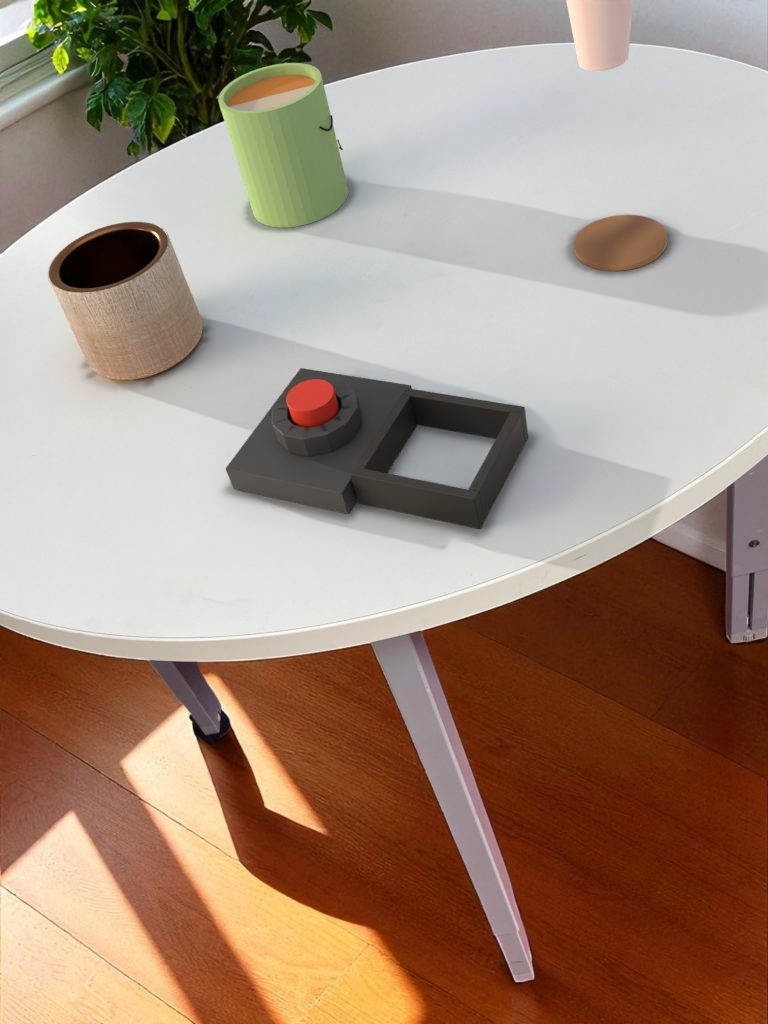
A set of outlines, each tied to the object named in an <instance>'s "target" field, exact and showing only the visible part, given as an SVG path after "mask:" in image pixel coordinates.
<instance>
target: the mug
mask: <svg viewBox="0 0 768 1024" xmlns="http://www.w3.org/2000/svg"><path fill="white" fill-rule="evenodd" d="M217 102H218V105H219V109H220V112H221V114H222V115H221V116H222V117H223V121H224V124H225V127H226V130H227V134H228V137H229V140H230V144H231V147H232V150H233V153H234V156H235V160H236V162H237V167H238V169H239V173H240V175H241V178H242V183H243V186H244V189H245V192H246V196H247V199H248V202H249V203H250V204H249V205H250V208H251V211H252V215H253V216H254V219H256V221H257V222H259V223H260V224H262V225H264V226H267V227H272V228H295V227H301V226H305V225H310V224H312V223H315V222H317V221H320V220H322V219H324V218H326V217H328V216H330V215H332V214H333V213H334V212H337V210H339V208H340V207H342V205H343V204H345V202H346V201H347V198H348V197H349V186H348V183H347V182H348V181H347V178H346V174H345V170H344V165H343V161H342V157H341V153H340V151H343V148H342V147H343V146H341V143H340V139H337V135H336V131H335V127H334V119H333V115H331V110H330V106H329V101H328V97H327V93H326V89H325V84H324V82H323V76H322V73H321V71H320V69H318V68H317V67H315V66H314V65H311V64H307V63H302V62H285V63H277V64H272V65H266V66H265V67H260V68H257V69H254V70H251V71H249V72H247V73H244V74H242V75H240V76H239V77H237V78H235V79H233V80H232V81H230V82H229V83H228V84H227V85H225V86H224V87H223V89H222V90H221V91H220V93H219V95H218V99H217Z"/></svg>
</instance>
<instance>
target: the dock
mask: <svg viewBox="0 0 768 1024" xmlns="http://www.w3.org/2000/svg"><path fill="white" fill-rule="evenodd" d="M526 414H527V413H526V407H525V406H522V405H515V404H510V403H509V404H508V403H503V402H497V401H490V400H485V399H477V398H473V397H466V396H460V395H453V394H447V393H441V392H436V391H435V392H434V391H427V390H421V389H415V388H412V389H409V388H405V390H404V391H403V393H402V395H401V396H400V397H399V399H398V401H397V402H396V404H395V405H394V407H393V408H392V410H391V411H390V413H389V414H388V416H387V417H386V419H385V421H384V422H383V424H382V425H381V427H380V428H379V430H378V431H377V433H376V434H375V436H374V438H373V439H372V441H371V442H370V444H369V445H368V447H367V448H366V450H365V451H364V453H363V454H362V456H361V458H360V459H359V461H358V462H357V464H356V465H355V467H354V468H353V470H352V471H351V473H350V477H351V480H352V483H353V487H354V490H355V493H356V497H357V503H358V504H359V505H360V504H361V505H366V506H370V507H375V508H380V509H384V510H390V511H394V512H398V513H402V514H408V515H412V516H417V517H422V518H426V519H431V520H436V521H440V522H445V523H449V524H455V525H459V526H464V527H468V528H474V529H477V530H478V529H479V530H481V528H482V527H483V525H484V523H485V521H486V519H487V518H488V516H489V513H490V512H491V509H492V508H493V507H494V504H495V502H496V501H497V498H498V496H499V494H501V493H500V492H501V491H502V489H503V487H504V485H505V483H506V481H507V479H508V477H509V476H510V474H511V472H512V470H513V468H514V466H515V464H516V462H517V460H518V458H519V457H520V455H521V452H522V451H523V449H524V447H525V445H526V442H527V441H528V439H529V431H528V430H529V429H528V422H527V415H526ZM417 426H421V427H426V428H433V429H439V430H444V431H451V432H456V433H461V434H466V435H473V436H479V437H484V438H490V439H495V440H494V442H493V444H492V446H491V447H490V449H489V451H488V453H487V454H486V456H485V458H484V460H483V461H482V464H481V465H480V467H479V468H478V471H477V473H476V475H475V476H474V478H473V481H472V482H471V484H470V485H469V488H464V487H458V486H453V485H447V484H442V483H438V482H432V481H429V480H423V479H418V478H413V477H407V476H402V475H399V474H393V473H389V471H390V470H391V468H392V467H393V465H394V463H395V462H396V460H397V459H398V456H399V455H400V454H401V452H402V451H403V449H404V447H405V445H407V442H408V441H409V439H410V437H411V436H412V435H413V433H414V431H415V430H416V428H417Z"/></svg>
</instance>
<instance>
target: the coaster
mask: <svg viewBox="0 0 768 1024" xmlns="http://www.w3.org/2000/svg"><path fill="white" fill-rule="evenodd" d="M668 242H669V236H668V232H667V230H666V228H665V227H664V226H663V224H661V223H660V222H659V221H657V220H655V219H653V218H650V217H648V216H643V215H639V214H637V215H636V214H618V215H617V214H616V215H612V216H607V217H603V218H600V219H597V220H594V221H593V222H591V223H589V224H587V225H586V226H584V227H583V228H581V230H580V231H578V233H577V234H576V236H575V238H574V241H573V251H574V255H575V257H576V258H577V260H579V261H580V262H581V263H582V264H583V265H585V266H588V267H589V268H593V269H596V270H600V271H607V272H608V271H609V272H620V271H629V270H633V269H638V268H641V267H644V266H646V265H648V264H650V263H652V262H654V261H655V260H657V259H658V258H659V257H660V256H662V255H663V253H664V252H665V251H666V249H667V247H668Z"/></svg>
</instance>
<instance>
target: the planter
mask: <svg viewBox="0 0 768 1024" xmlns="http://www.w3.org/2000/svg"><path fill="white" fill-rule="evenodd" d="M176 253H177V252H176V251H175V248H174V245H173V243H172V241H171V238H170V235H169V233H168V232H167V231H166V230H165V229H164V228H163V227H161V226H160V225H158V224H155V223H152V222H148V221H124V222H118V223H113V224H109V225H106V226H102V227H100V228H97V229H94V230H93V231H89V232H87V233H85V234H83V235H82V236H80V237H78V238H76V239H74V240H73V241H71V242H70V243H68V244H67V245H65V247H63V248H62V249H61V250H59V252H58V253H57V254H56V256H55V257H54V258H53V259H52V261H51V263H50V264H49V267H48V270H47V279H48V282H49V284H50V286H51V288H52V290H53V292H54V294H55V297H56V299H57V301H58V303H59V305H60V307H61V309H62V311H63V313H64V316H65V318H66V320H67V322H68V324H69V326H70V328H71V331H72V333H73V335H74V337H75V340H76V341H77V344H78V346H79V348H80V350H81V352H82V355H83V357H84V359H85V361H86V363H87V364H88V366H89V367H90V368H91V370H93V372H95V373H96V374H97V375H99V376H101V377H104V378H106V379H111V380H118V381H131V380H132V381H133V380H139V379H144V378H149V377H153V376H155V375H158V374H161V373H163V372H166V371H168V370H170V369H171V368H173V367H174V366H176V365H177V364H179V363H181V362H182V361H183V360H184V359H185V358H187V356H188V355H190V353H191V352H192V351H193V350H194V349H195V347H197V345H198V343H199V342H200V340H201V338H202V335H203V329H204V325H203V320H202V316H201V313H200V311H199V309H198V306H197V304H196V301H195V299H194V296H193V293H192V291H191V288H190V286H189V283H188V281H187V279H186V276H185V274H184V271H183V269H182V266H181V264H180V261H179V259H178V256H177V254H176Z"/></svg>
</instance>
